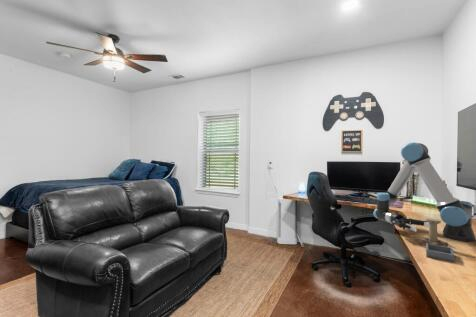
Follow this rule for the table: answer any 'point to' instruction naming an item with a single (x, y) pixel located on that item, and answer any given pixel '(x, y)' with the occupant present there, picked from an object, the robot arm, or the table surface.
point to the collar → (426, 240)
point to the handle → (433, 229)
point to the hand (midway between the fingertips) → (426, 228)
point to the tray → (440, 252)
